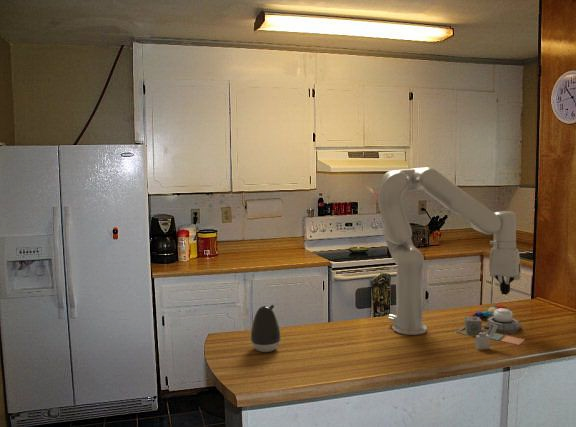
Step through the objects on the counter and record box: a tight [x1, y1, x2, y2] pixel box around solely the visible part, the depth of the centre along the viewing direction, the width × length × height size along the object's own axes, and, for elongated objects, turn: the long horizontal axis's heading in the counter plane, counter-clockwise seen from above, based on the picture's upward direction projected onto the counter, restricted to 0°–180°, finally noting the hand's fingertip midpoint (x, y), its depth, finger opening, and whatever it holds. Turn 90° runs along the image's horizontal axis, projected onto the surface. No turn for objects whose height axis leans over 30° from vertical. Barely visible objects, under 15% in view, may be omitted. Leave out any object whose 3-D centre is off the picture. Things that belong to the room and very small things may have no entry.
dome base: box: [483, 316, 522, 335], centre depth 182 cm, size 10×10×3 cm
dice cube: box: [464, 316, 483, 335], centre depth 179 cm, size 5×5×5 cm
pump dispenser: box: [250, 304, 282, 353], centre depth 166 cm, size 10×10×15 cm
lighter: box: [475, 324, 498, 351], centre depth 163 cm, size 7×2×8 cm, turn 101°
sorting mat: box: [456, 326, 525, 346], centre depth 174 cm, size 21×8×1 cm, turn 47°
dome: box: [494, 308, 513, 322], centre depth 181 cm, size 6×6×4 cm
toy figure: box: [469, 305, 508, 321], centre depth 195 cm, size 8×5×15 cm
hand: (505, 293), depth 181 cm, fingers closed
